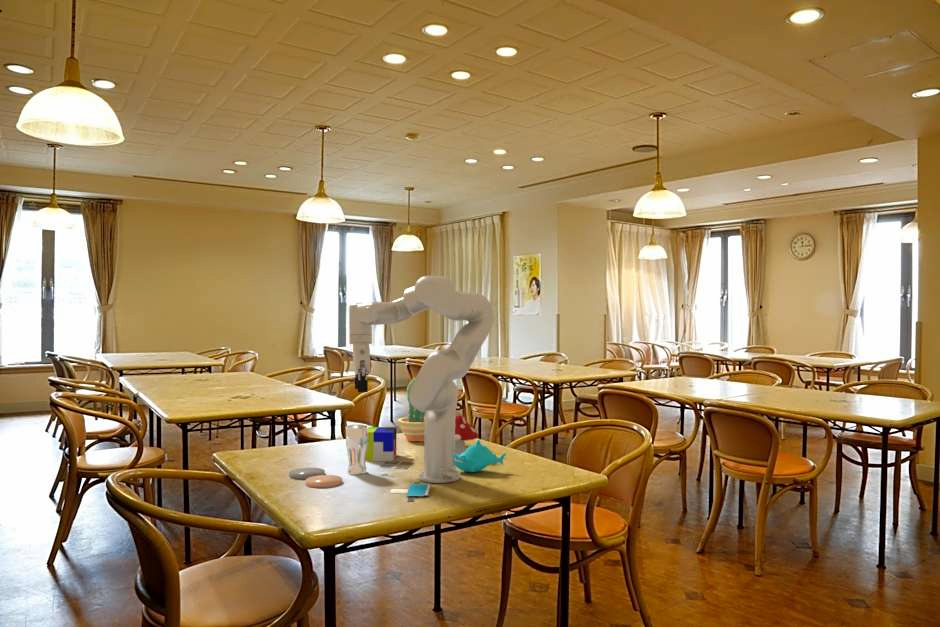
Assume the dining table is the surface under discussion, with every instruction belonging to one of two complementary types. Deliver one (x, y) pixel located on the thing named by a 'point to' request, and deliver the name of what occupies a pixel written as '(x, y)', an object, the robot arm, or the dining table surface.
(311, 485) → the terracotta coaster
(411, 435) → the potted cactus
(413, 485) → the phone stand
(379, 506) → the dining table surface
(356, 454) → the beer glass
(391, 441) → the puzzle toy
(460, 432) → the decorative mushroom
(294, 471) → the slate coaster
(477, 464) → the toy shark
